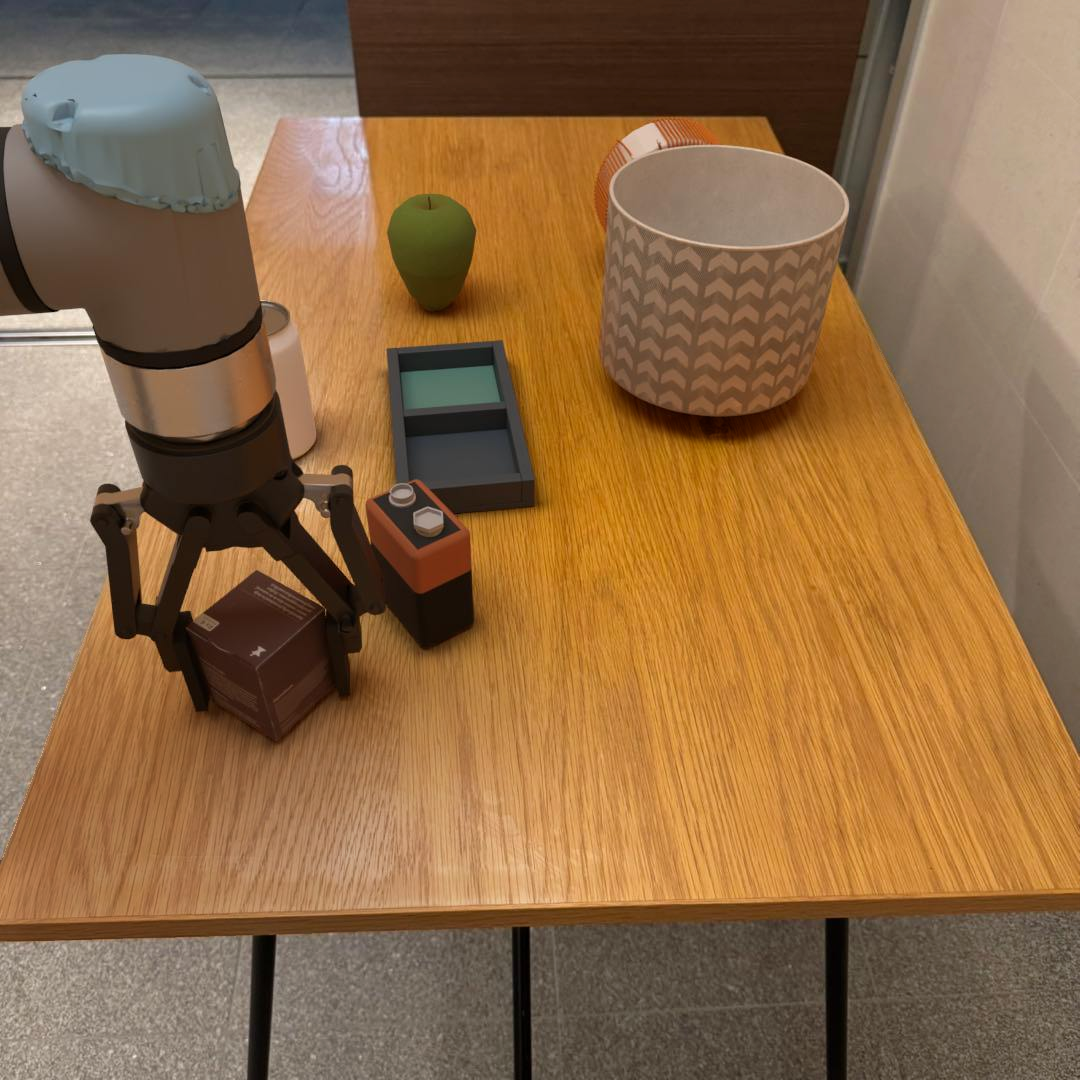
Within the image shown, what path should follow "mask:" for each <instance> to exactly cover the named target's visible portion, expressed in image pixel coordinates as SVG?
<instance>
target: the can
mask: <svg viewBox="0 0 1080 1080" xmlns="http://www.w3.org/2000/svg"><path fill="white" fill-rule="evenodd" d="M260 301H261V306H262V312H263V317H264V322H265V327H266V332H267V337H268V342H269V347H270V351H271V356H272V361H273V366H274V371H275V376H276V391H277V393H278V395H279V398H280V403H281V408H282V413H283V418H284V424H285V429H286V434H287V439H288V445H289V450H290V454H291V457H292V459H293V460H294V461H296V460H297V459H299V458H302V457H303V456H304V455H305V454H307V453H308V452H309V451H310V449H311V448H312V447H313V446H314V445H315V442H316V440H317V428H316V423H315V417H314V416H315V415H314V410H313V405H312V399H311V393H310V388H309V382H308V376H307V370H306V365H305V360H304V354H303V348H302V343H301V338H300V332H299V330H298V327H297V325H296V323H295V322H294V321H293V320H292V318H291V313H290V311H289V309H288V308H287V307H286V306H285V305H284V304H281V303H279V302H276V301H273V300H268V299H260Z"/></svg>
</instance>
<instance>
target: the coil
mask: <svg viewBox="0 0 1080 1080" xmlns="http://www.w3.org/2000/svg"><path fill="white" fill-rule="evenodd" d="M691 145H723V143H721V141H720V140H719V138H718V137H717V136H716V135H715V134H714V133H713V132H712V131H711V130H710V129H708V128H707V127H706V126H704V125H703V124H701V123H699V122H697V121H693V120H692V119H689V118H685V117H682V118H681V117H680V116H679V117H676V116H674V117H673V116H670V117H668V116H666V117H665V118H664V117H661V118H659V117H658V118H657V119H656V118H653V120H652V122H650V123H647V124H645V125H642V126H641V127H638V128H636V129H634V130H633V131H632V132H630V133H629V134H628V135H626V136H625V137H623V138H622V139H620V138H617V139H616V142H615V143H614V146H613V145H612V146H611V149H609V150H608V153H606V156H605V157H603V160H602V161H601V164H600V166H599V169H598V172H597V174H596V175H597V176H596V178H595V182H594V184H595V185H594V189H593V192H594V193H593V196H594V198H593V200H594V205H595V206H594V207H595V212H596V216H597V218H598V220H599V222H600V225H601V227H602V229H603V231H604V233H605V234H606V229H607V213H608V197H609V185H610V182H611V179H612V177H613V175H614V174H615V173H616V172H617V171H618V170H619V169H620V168H621V167H622V166H623V165H625V164H626V163H628V162H630V161H631V160H633V159H635V158H637V157H640V156H642V155H645V154H648V153H651V152H654V151H658V150H663V149H667V148H673V147H681V146H691Z"/></svg>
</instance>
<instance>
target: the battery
mask: <svg viewBox="0 0 1080 1080" xmlns="http://www.w3.org/2000/svg"><path fill="white" fill-rule="evenodd" d="M364 507H365V513H366V521H367V527H368V533H369V542H370V544H371V547H372V549H373V552H374V554H375V557H376V559H377V562H378V564H379V567H380V569H381V572H382V574H383V577H384V585H385V604H386V605H387V607H388V608H389V609H390V611H391V612H392V613H393V614H394V615H395V617H396V618H397V619H398V620H399V621H400V623H401V624H402V625H403V626H404V628H405V629H406V630H407V631H408V632H409V634H410V635H411V636H412V638H413V639H414V640H415V641H416V643H418V645H420V646H421V647H422V648H425V649H427V648H429V647H432V646H433V645H436V644H438V643H440V642H442V641H443V640H445V639H448V638H449V637H452V636H453V635H455V634H457V633H459V632H462V631H463V630H465V629H467V628H469V627H471V626H472V625H474V622H475V610H474V592H473V590H474V589H473V568H472V549H471V532H470V530H469V529H468V528H467V526H466V525H465V524H464V523H463V522H462V521H461V520H460V519H459V518H458V517H457V516H456V515H455V514H453V513H452V512H451V511H450V510H449V509H448V508H447V507H446V506H445V505H444V504H443V503H442V502H441V501H440V500H439V499H438V498H437V497H436V496H435V495H434V494H433V493H432V492H431V490H430V489H429V488H428V487H427V486H426V485H425V484H424V483H423V482H421V481H420V480H418V479H415V480H412V481H410V482H408V483H401V484H397V483H396V484H394V485H392V486H391V488H390V489H389V490H386V491H384V492H382V493H380V494H377V495H374V496H372V497H370V498H367V499H366V501H365V506H364Z"/></svg>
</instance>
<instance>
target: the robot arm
mask: <svg viewBox="0 0 1080 1080" xmlns="http://www.w3.org/2000/svg"><path fill="white" fill-rule="evenodd" d="M20 99H21V100H20V106H21V112H22V116H23V120H22V123H16V124H13V125H12V126H0V317H8V316H9V317H10V316H22V315H36V314H50V313H51V314H52V313H58V312H59V311H67V310H77V309H78V310H80V309H83V310H85V313H86V315H87V316H88V318H89V320H90V322H91V324H92V329H93V333H94V336H95V339H96V342H97V344H98V346H99V349H100V353H101V355H102V359H103V362H104V365H105V369H106V371H107V376H108V378H109V381H110V385H111V388H112V391H113V393H114V397H115V400H116V403H117V406H118V409H119V412H120V415H121V416H122V418H123V419H124V426H125V430H126V433H127V437H128V440H129V442H130V445H131V448H132V452H133V455H134V458H135V461H136V464H137V467H138V470H139V473H140V476H141V479H142V484H141V485H142V486H139V487H135V488H130V489H124V490H122V489H121V488H120V487H119V486H118V485H116V484H113V483H103V484H101V485H99V486H98V488H97V492H96V496H95V498H94V502H93V506H92V511H91V514H90V518H89V522H90V525H91V527H92V528H93V529H94V530H95V532H96V534H97V536H98V537H99V539H100V540H101V542H102V544H103V545H104V547H105V548H104V549H105V557H106V558H105V559H106V567H107V575H108V586H109V593H110V594H109V595H110V604H111V613H112V622H113V629H114V631H113V633H114V634H115V636H116V637H117V638H119V639H121V640H132V639H134V638H135V637H137V635H139V636H145V637H148V638H149V639H150V640H151V641H152V642H153V643H154V644H155V647H156V650H157V653H158V654H159V657H160V658H159V659H160V660H161V663H162V666H163V668H164V669H165V670H166V671H167V672H168V673H176V672H181V673H182V676H183V679H184V682H185V685H186V687H187V691H188V694H189V696H190V699H191V702H192V705H193V708H194V710H195V713H200V712H208V711H209V709H210V708H209V707H210V700H211V696H210V693H209V691H208V688H207V685H206V682H205V679H204V677H203V674H202V671H201V668H200V666H199V663H198V660H197V657H196V654H195V651H194V649H193V646H192V643H191V640H190V637H189V635H188V632H187V630H186V627H187V626H188V625H189V624H190V623H191V622H192V621H193V620H194V619H193V618H194V617H193V615H192V612H191V610H182V608H183V605H184V602H185V598H186V595H187V593H188V590H189V587H190V583H191V581H192V579H193V575H194V572H195V570H196V569H197V566H198V563H199V560H200V558H201V554H202V553H203V552H202V551H203V549H205V552H206V553H208V552H209V553H211V552H220V551H221V552H222V551H224V550H225V551H226V550H227V549H228V550H229V549H231V548H243V549H244V548H245V549H257V548H262V549H263V550H264V551H265V552H266V553H267V554H268V555H269V556H270V557H271V558H272V559H273V560H274V561H275V562H280V561H281V563H282V564H284V566H285V567H286V568H287V569H288V570H289V571H290V572H291V573H292V574H293V575H294V576H295V577H296V578H297V580H298V581H299V582H300V583H301V584H302V585H303V586H304V587H305V588H306V589H307V591H308V592H309V593H310V594H311V595H312V596H313V597H314V598H315V600H316V601H318V603H320V605H321V606H323V607H324V608H325V615H326V633H327V638H328V643H329V649H330V654H331V659H332V664H333V670H334V675H335V680H336V685H335V686H336V690H337V696H338V698H344V697H351V663H350V656H349V654H350V655H351V654H360V653H361V650H362V649H363V634H362V633H363V630H362V624H361V617H362V616H363V615H365V614H369V615H372V616H379V615H382V614H383V613H384V612H385V611H386V609H387V608H386V607H387V606H386V605H387V604H386V603H385V585H384V577H383V574H382V572H381V569H380V567H379V564H378V562H377V559H376V557H375V554H374V552H373V549H372V547H371V542H370V538H369V537H368V535H367V533H366V530H365V528H364V527H365V526H364V525H363V522H362V519H361V517H360V515H359V512H358V510H357V507H356V505H355V502H354V500H355V499H354V472H353V471H354V470H353V469H352V468H351V467H350V466H348V465H347V464H338V465H335V466H333V468H331V472H330V474H320V473H304V471H303V469H302V468H301V467H300V466H299V465H298V464H297V463H296V462H295V460H293V459H292V457H291V454H290V450H289V445H288V439H287V434H286V429H285V424H284V418H283V413H282V408H281V403H280V398H279V395H278V393H277V391H276V376H275V371H274V366H273V361H272V356H271V351H270V347H269V342H268V337H267V332H266V327H265V322H264V317H263V312H262V306H261V301H260V300H261V296H260V291H259V285H258V279H257V274H256V268H255V261H254V255H253V251H252V245H251V240H250V234H249V233H250V232H249V228H248V221H247V216H246V211H245V205H244V199H243V194H242V187H241V185H242V183H241V182H242V181H241V177H240V172H239V169H237V168H236V167H235V163H234V160H233V156H232V152H231V147H230V144H229V139H228V135H227V131H226V126H225V123H224V119H223V115H222V111H221V107H220V102H219V100H218V96H217V93H216V92H215V90H214V88H213V86H212V84H211V83H209V81H208V80H207V79H206V78H205V77H204V76H203V75H202V74H201V73H199V71H197V70H196V69H194V68H193V67H190V66H189V65H187V64H185V63H182V62H180V61H177V60H175V59H171V58H168V57H163V56H159V55H151V54H138V53H135V54H134V53H119V54H118V53H114V54H103V55H99V56H97V57H96V58H92V59H86V60H84V59H82V60H81V59H75V60H69V61H65V62H61V63H59V64H56V65H53V66H51V67H48V68H46V69H44V70H42V71H41V72H39V73H38V74H36V75H35V76H33V77H32V78H31V79H30V80H29V81H28V82H27V83H26V84H25V86H24V88H23V90H22V93H21V98H20ZM303 499H306V500H309V501H311V502H312V503H313V504H314V507H315V509H316V511H317V512H318V513H320V516H321V517H322V518H323V519H329V524H330V530H331V533H332V536H333V538H334V540H335V543H336V546H337V547H338V550H339V552H340V554H341V557H342V559H343V561H344V563H345V566H346V568H347V571H348V572H349V575H350V577H351V580H352V581H351V580H350V579H349V578H348V577H347V576H346V574H345V573H344V572H343V571H342V570H341V569H340V567H339V566H338V565H337V564H336V563H335V562H334V561H333V559H332V558H331V557H330V556H329V555H328V554H327V553H326V551H324V548H323V547H321V546H320V544H319V543H318V542H317V541H316V539H314V538H313V536H312V535H311V533H309V532H308V531H307V529H306V528H305V527H304V526H303V524H301V522H300V519H299V516H298V514H297V513H296V509H297V508H298V507H299V505H300V504H301V503H302V501H303ZM143 513H146V514H147V515H149V516H150V517H151V518H153V519H154V520H155V521H157V522H158V523H160V524H162V525H163V526H164V527H166V528H167V529H169V530H171V532H173V533H174V534H176V536H175V539H174V542H173V545H172V549H171V553H170V555H169V559H168V561H167V565H166V569H165V572H164V573H163V574H164V575H163V578H162V582H161V584H160V587H159V590H158V594H157V595H156V597H155V602H154V604H151V603H150V604H149V603H144V602H143V595H142V594H143V593H142V582H141V581H142V580H141V571H140V570H141V569H140V558H139V546H138V534H137V533H138V532H137V529H138V528H139V527H140V524H141V518H142V515H143ZM352 582H353V583H352Z"/></svg>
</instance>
